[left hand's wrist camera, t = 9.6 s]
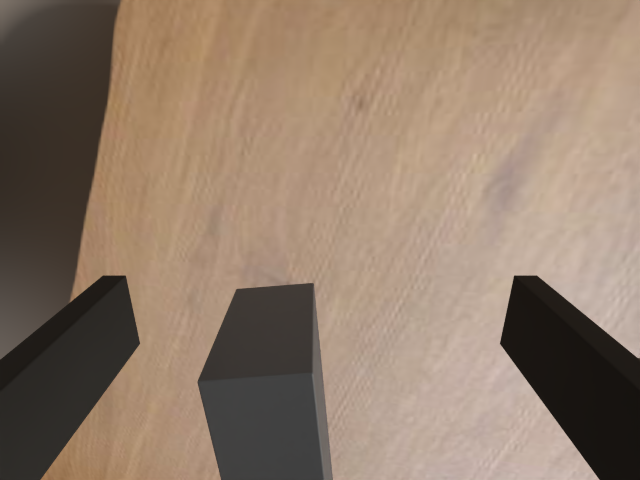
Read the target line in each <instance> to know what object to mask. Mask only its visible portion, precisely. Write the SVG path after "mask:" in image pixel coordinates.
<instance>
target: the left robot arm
mask: <svg viewBox="0 0 640 480" xmlns="http://www.w3.org/2000/svg"><path fill="white" fill-rule="evenodd" d="M139 344H140V341H139V337H138V332H137V327H136V322H135V318H134V313H133V308H132V303H131V298H130V294H129V289H128V284H127V279H126V276H102V277H101V278H100V279H98V280H97V281H96V282H95V283H94V284H92V285H91V286H90V287H89V288H87V289H86V290H85V291H84V292H83V293H81V294H80V295H79V296H78V297H76V298H75V299H74V300H73V301H72V302H70V303H69V304H68V305H67V306H66V307H64V308H63V309H62V310H61V311H59V312H58V313H57V314H56V315H55V316H53V317H52V318H51V319H50V320H48V321H47V322H46V323H45V324H44V325H42V326H41V327H40V328H39V329H37V330H36V331H35V332H34V333H33V334H31V335H30V336H29V337H28V338H26V339H25V340H24V341H23V342H22V343H20V344H19V345H18V346H17V347H15V348H14V349H13V350H12V351H11V352H9V353H8V354H7V355H6V356H5V357H3V358H2V359H1V360H0V480H40V479H41V478H42V477H43V475H44V474H45V473H46V471H47V470H48V469H49V467H50V466H51V464H52V463H53V462H54V460H55V459H56V458H57V456H58V455H59V454H60V452H61V451H62V449H63V448H64V447H65V445H66V444H67V443H68V441H69V440H70V439H71V437H72V436H73V434H74V433H75V432H76V430H77V429H78V428H79V426H80V425H81V423H82V422H83V421H84V419H85V418H86V417H87V415H88V414H89V413H90V411H91V410H92V408H93V407H94V406H95V404H96V403H97V402H98V400H99V399H100V398H101V396H102V395H103V393H104V392H105V391H106V389H107V388H108V387H109V385H110V384H111V383H112V381H113V380H114V378H115V377H116V376H117V374H118V373H119V372H120V370H121V369H122V368H123V366H124V365H125V363H126V362H127V361H128V359H129V358H130V357H131V355H132V354H133V353H134V351H135V350H136V348H137V347H138V346H139ZM500 344H501V346H502V347H503V348H504V350H505V351H506V353H507V354H508V355H509V357H510V358H511V359H512V361H513V362H514V363H515V365H516V366H517V368H518V369H519V370H520V372H521V373H522V374H523V376H524V377H525V378H526V380H527V381H528V383H529V384H530V385H531V387H532V388H533V389H534V391H535V392H536V393H537V395H538V396H539V398H540V399H541V400H542V402H543V403H544V404H545V406H546V407H547V408H548V410H549V411H550V413H551V414H552V415H553V417H554V418H555V419H556V421H557V422H558V423H559V425H560V426H561V428H562V429H563V430H564V432H565V433H566V434H567V436H568V437H569V439H570V440H571V441H572V443H573V444H574V445H575V447H576V448H577V449H578V451H579V452H580V454H581V455H582V456H583V458H584V459H585V460H586V462H587V463H588V464H589V466H590V467H591V469H592V470H593V471H594V473H595V474H596V475H597V477H598V478H599V479H600V480H640V358H637V357H636V356H634V355H633V354H632V353H631V352H629V351H628V350H627V349H626V348H625V347H623V346H622V345H621V344H620V343H618V342H617V341H616V340H615V339H614V338H612V337H611V336H610V335H609V334H607V333H606V332H605V331H604V330H603V329H601V328H600V327H599V326H598V325H597V324H595V323H594V322H593V321H592V320H590V319H589V318H588V317H587V316H586V315H584V314H583V313H582V312H581V311H579V310H578V309H577V308H576V307H575V306H573V305H572V304H571V303H570V302H568V301H567V300H566V299H565V298H564V297H562V296H561V295H560V294H559V293H557V292H556V291H555V290H554V289H553V288H551V287H550V286H549V285H548V284H546V283H545V282H544V281H543V280H542V279H540V278H539V277H538V276H514V279H513V284H512V289H511V294H510V298H509V303H508V308H507V313H506V318H505V322H504V327H503V332H502V337H501V341H500Z"/></svg>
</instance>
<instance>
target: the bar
mask: <svg viewBox="0 0 640 480" xmlns="http://www.w3.org/2000/svg"><path fill="white" fill-rule="evenodd" d="M198 386H199V390H200V394H201V398H202V403H203V407H204V411H205V415H206V419H207V423H208V427H209V431H210V435H211V439H212V444H213V448H214V452H215V456H216V460H217V464H218V468H219V472H220V476H221V480H333V477H332V466H331V456H330V446H329V435H328V425H327V415H326V405H325V394H324V384H323V374H322V363H321V353H320V343H319V332H318V322H317V312H316V301H315V291H314V284H313V283H308V284H295V285H283V286H270V287H257V288H244V289H237V290H236V292H235V294H234V296H233V299H232V301H231V304H230V306H229V308H228V311H227V313H226V315H225V318H224V320H223V323H222V325H221V327H220V330H219V332H218V334H217V337H216V339H215V342H214V344H213V346H212V349H211V351H210V353H209V356H208V358H207V361H206V363H205V365H204V368H203V370H202V372H201V375H200V377H199V380H198Z"/></svg>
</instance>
